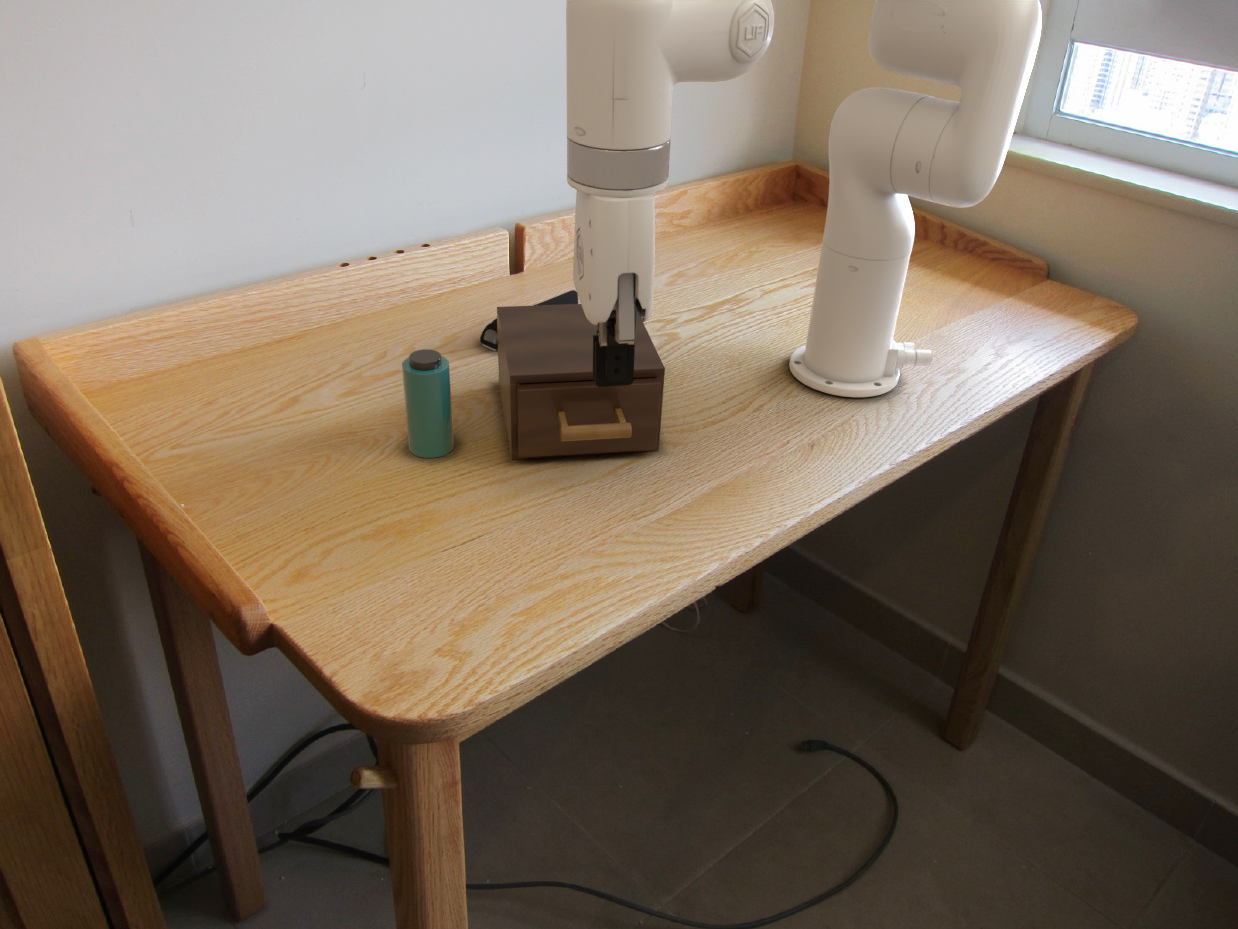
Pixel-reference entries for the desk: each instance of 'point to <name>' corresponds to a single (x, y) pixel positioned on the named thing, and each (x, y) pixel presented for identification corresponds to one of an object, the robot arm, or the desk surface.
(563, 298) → the electric trimmer
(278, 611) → the desk surface
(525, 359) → the cabinet
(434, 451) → the bottle
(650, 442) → the drawer
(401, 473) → the desk surface
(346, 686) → the desk surface
